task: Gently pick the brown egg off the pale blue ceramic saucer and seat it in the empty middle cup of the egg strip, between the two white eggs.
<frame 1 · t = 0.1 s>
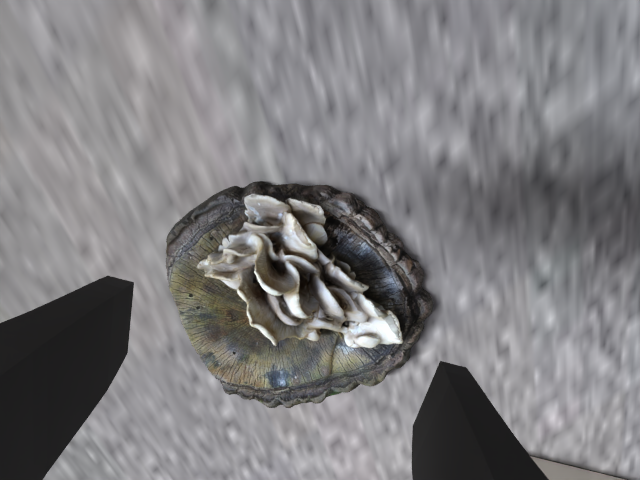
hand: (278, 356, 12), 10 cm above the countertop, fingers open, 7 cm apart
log: (296, 291, 24), on the countertop
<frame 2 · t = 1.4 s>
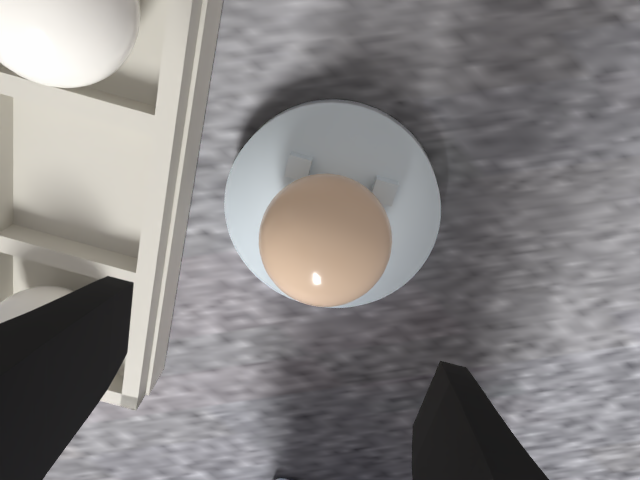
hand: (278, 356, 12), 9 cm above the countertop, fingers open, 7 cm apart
egg brown: (330, 215, 19), point 1 cm above the countertop, touching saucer
carton: (107, 165, 21), on the countertop
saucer: (333, 203, 20), on the countertop
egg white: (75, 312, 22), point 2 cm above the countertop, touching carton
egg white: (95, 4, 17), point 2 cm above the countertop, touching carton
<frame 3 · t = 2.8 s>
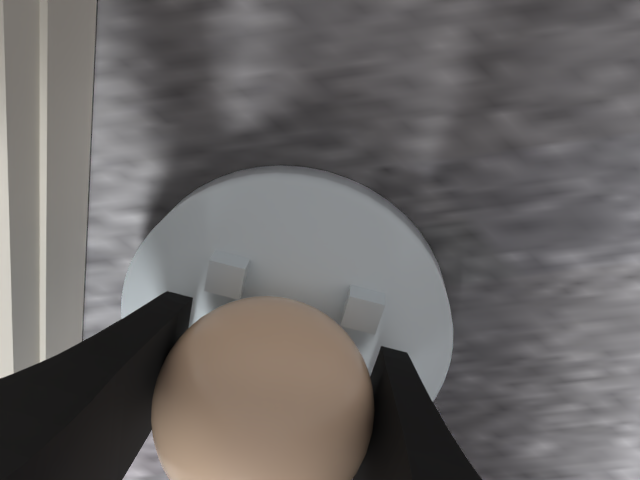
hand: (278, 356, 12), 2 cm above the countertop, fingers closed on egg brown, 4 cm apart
egg brown: (283, 340, 13), point 1 cm above the countertop, touching gripper, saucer
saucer: (290, 313, 14), on the countertop
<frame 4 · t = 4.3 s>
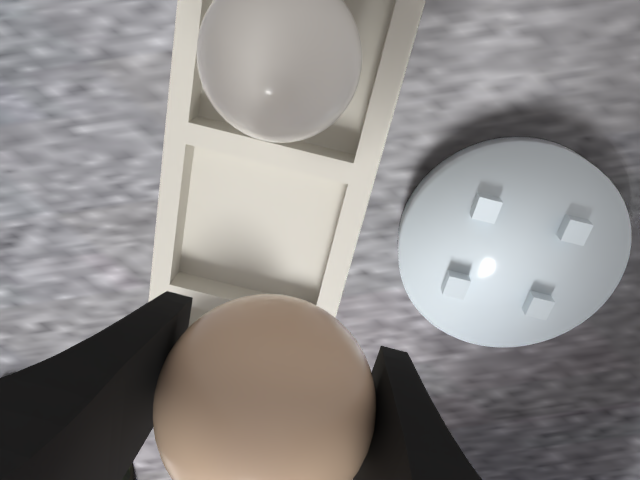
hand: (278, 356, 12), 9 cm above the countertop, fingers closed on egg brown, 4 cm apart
egg brown: (284, 339, 13), point 8 cm above the countertop, touching gripper
carton: (268, 207, 20), on the countertop
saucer: (504, 241, 20), on the countertop
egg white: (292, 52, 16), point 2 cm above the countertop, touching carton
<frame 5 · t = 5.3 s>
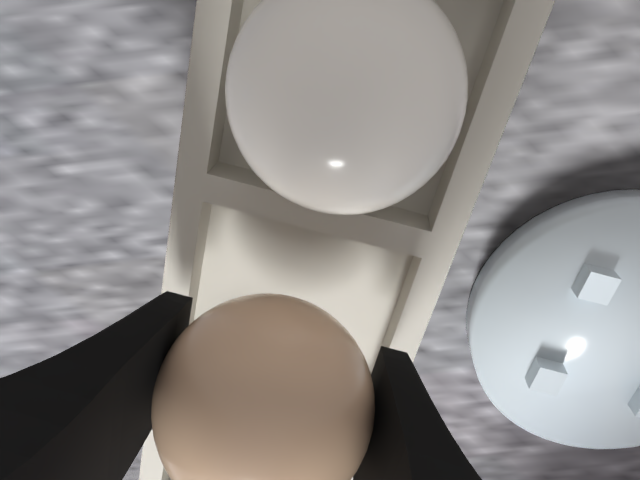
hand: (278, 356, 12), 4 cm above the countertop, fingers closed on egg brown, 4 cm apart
egg brown: (283, 338, 13), point 4 cm above the countertop, touching gripper
carton: (303, 270, 16), on the countertop
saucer: (604, 317, 16), on the countertop
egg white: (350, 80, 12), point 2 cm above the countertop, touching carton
when the fingers open (4 cm above the countertop, at t = 5.9 s): egg brown drops 1 cm, resting on carton.
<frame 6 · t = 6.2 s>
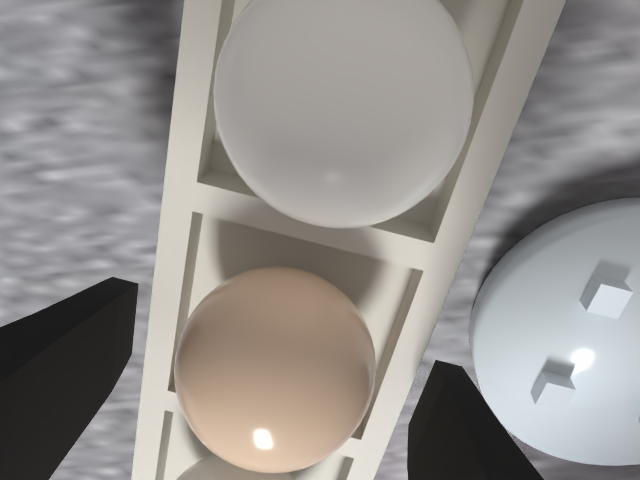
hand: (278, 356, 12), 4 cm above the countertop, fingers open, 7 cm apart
egg brown: (291, 311, 14), point 2 cm above the countertop, touching carton
carton: (299, 280, 15), on the countertop
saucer: (613, 329, 15), on the countertop
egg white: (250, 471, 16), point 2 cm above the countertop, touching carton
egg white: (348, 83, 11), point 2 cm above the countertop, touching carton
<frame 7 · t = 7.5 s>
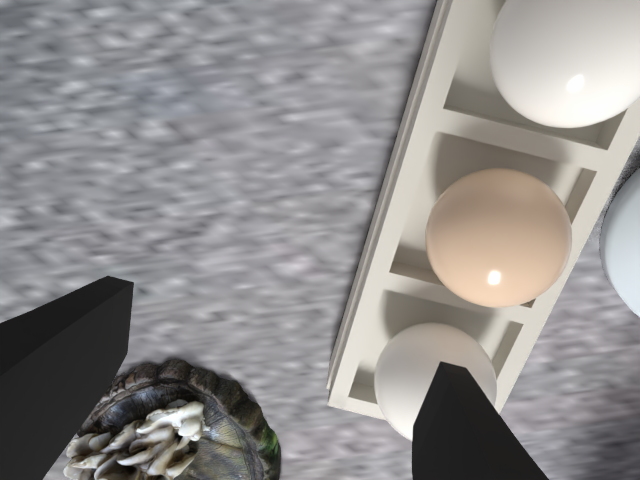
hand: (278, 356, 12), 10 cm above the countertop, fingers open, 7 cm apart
egg brown: (482, 212, 19), point 2 cm above the countertop, touching carton
carton: (473, 196, 20), on the countertop
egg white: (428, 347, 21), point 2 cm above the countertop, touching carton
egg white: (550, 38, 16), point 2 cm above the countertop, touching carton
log: (183, 442, 28), on the countertop
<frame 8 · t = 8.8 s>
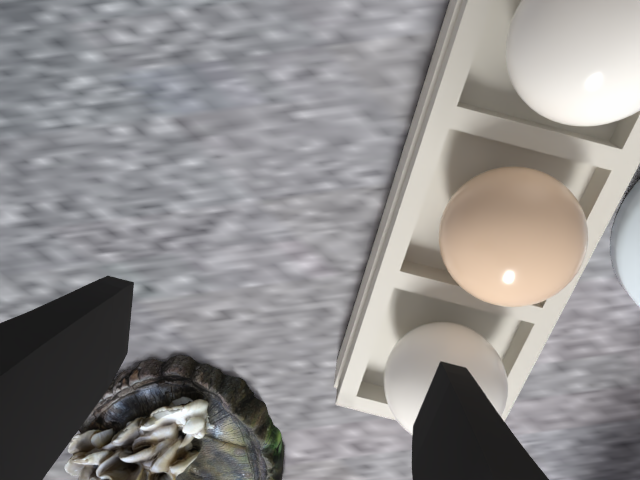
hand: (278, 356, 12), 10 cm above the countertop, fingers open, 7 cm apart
egg brown: (493, 211, 19), point 2 cm above the countertop, touching carton
carton: (483, 195, 20), on the countertop
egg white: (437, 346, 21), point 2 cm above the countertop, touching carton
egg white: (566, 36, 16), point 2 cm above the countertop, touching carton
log: (185, 440, 28), on the countertop
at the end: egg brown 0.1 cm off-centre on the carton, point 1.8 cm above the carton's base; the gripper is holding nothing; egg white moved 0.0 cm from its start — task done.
